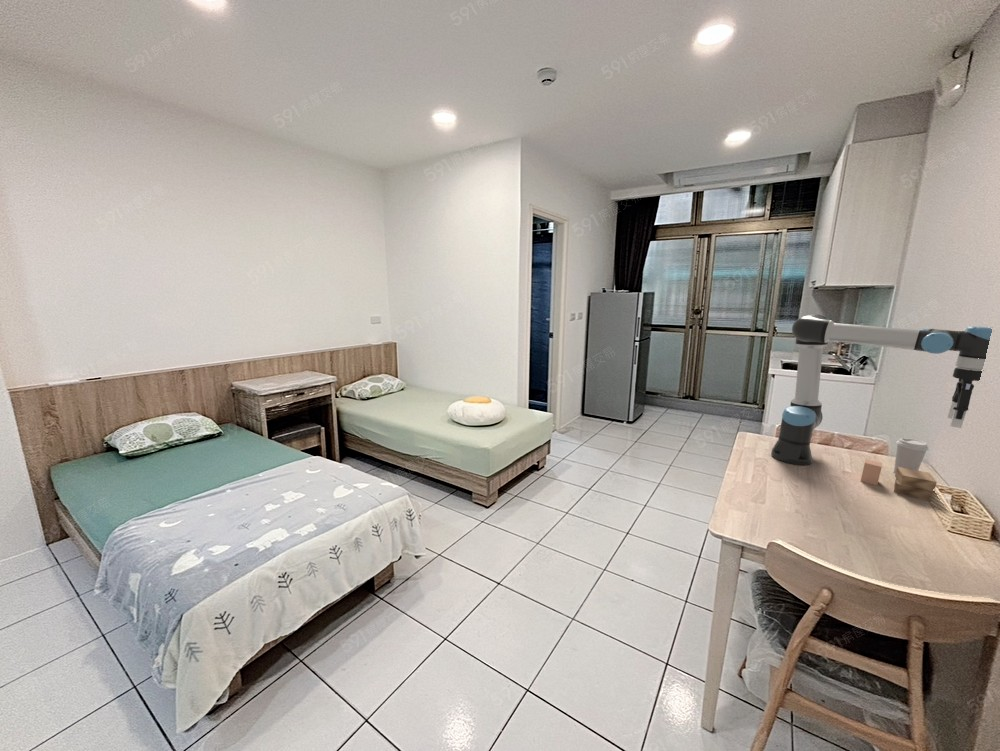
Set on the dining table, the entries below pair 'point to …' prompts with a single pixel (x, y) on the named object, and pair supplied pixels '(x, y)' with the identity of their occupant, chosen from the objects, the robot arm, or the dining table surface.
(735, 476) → the dining table surface
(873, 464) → the terracotta block
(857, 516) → the dining table surface
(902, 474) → the slab top
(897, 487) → the slab bottom
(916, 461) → the coffee cup
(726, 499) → the dining table surface
